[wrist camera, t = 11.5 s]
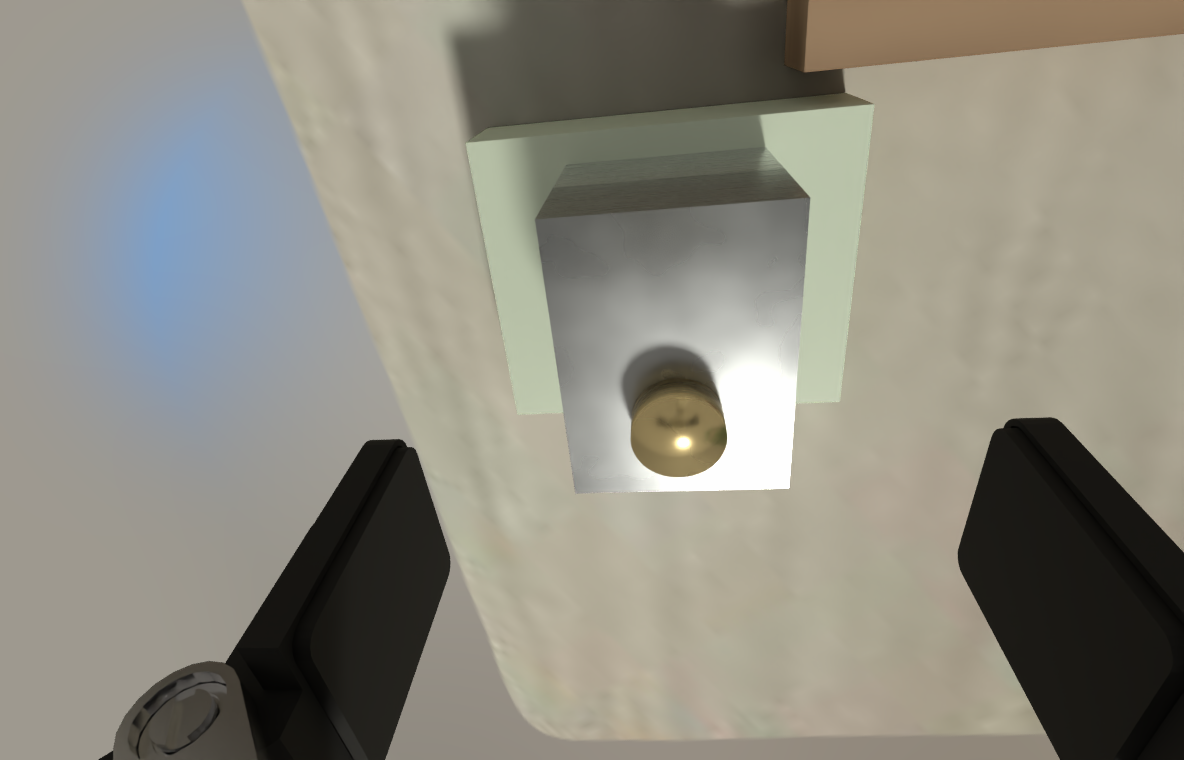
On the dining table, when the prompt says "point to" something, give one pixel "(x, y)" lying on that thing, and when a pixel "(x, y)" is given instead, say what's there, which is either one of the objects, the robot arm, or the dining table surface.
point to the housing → (676, 318)
